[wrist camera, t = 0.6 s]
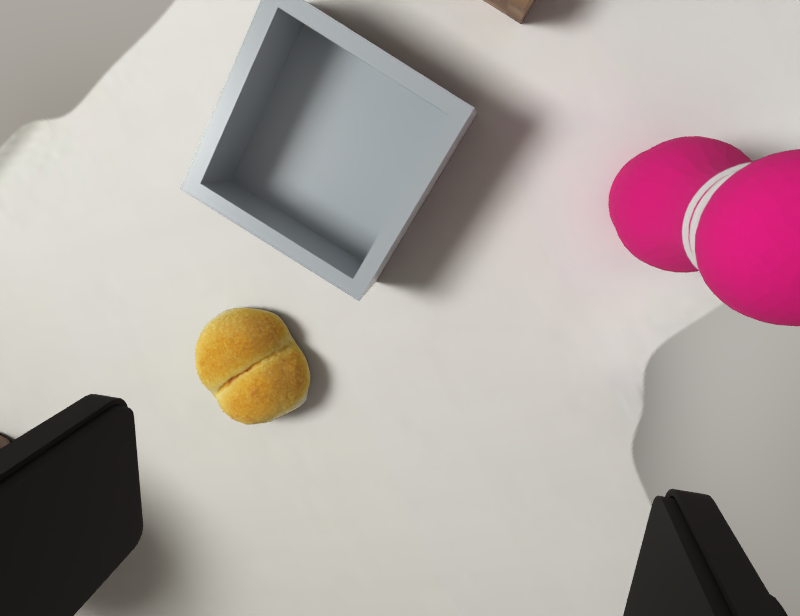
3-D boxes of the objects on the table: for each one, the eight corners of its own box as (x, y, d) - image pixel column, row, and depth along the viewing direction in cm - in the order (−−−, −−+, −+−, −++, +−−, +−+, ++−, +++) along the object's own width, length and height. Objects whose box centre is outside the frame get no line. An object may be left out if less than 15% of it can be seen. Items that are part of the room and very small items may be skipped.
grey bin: (301, 2, 34) (270, -22, 29) (477, 113, 34) (474, 107, 29) (219, 183, 38) (180, 189, 33) (375, 282, 38) (358, 301, 34)
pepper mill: (583, 238, 35) (686, 344, 16) (624, 124, 33) (801, 92, 14) (695, 269, 34) (937, 416, 16) (745, 155, 32) (1101, 165, 13)
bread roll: (266, 285, 40) (242, 299, 36) (330, 384, 41) (314, 408, 38) (184, 335, 42) (154, 353, 39) (248, 427, 44) (225, 454, 40)
